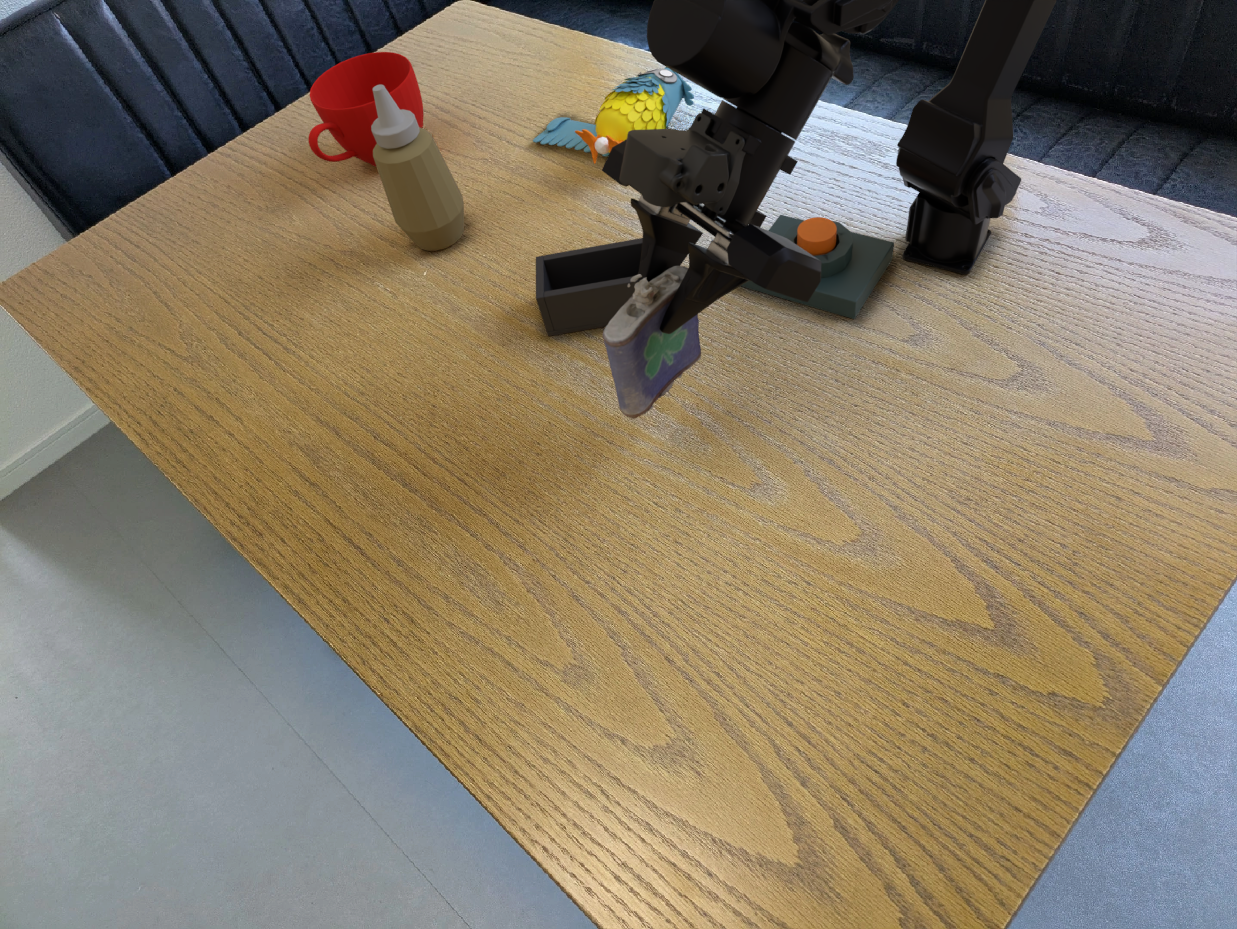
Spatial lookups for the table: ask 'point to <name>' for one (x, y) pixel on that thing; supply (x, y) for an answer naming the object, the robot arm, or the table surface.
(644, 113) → the owl figurine
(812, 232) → the button
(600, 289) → the box
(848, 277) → the panel
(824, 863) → the table surface
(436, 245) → the squeeze bottle
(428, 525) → the table surface
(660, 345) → the flask
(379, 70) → the ceramic cup
